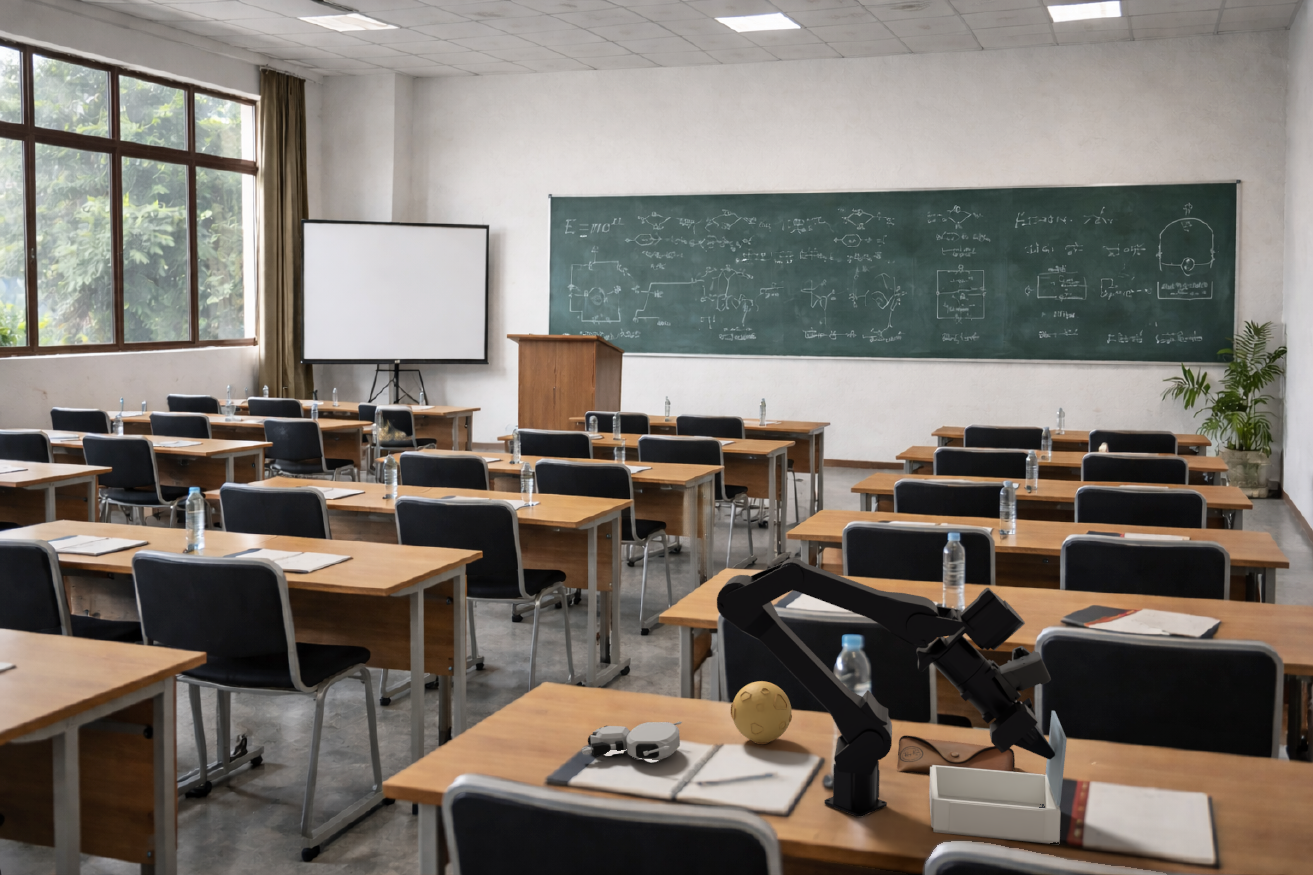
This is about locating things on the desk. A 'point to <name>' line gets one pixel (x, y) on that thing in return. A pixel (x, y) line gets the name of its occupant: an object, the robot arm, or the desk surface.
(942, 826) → the carton
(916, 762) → the sunglasses case
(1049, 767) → the flap
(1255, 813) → the desk surface
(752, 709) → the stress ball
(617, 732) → the robot toy
